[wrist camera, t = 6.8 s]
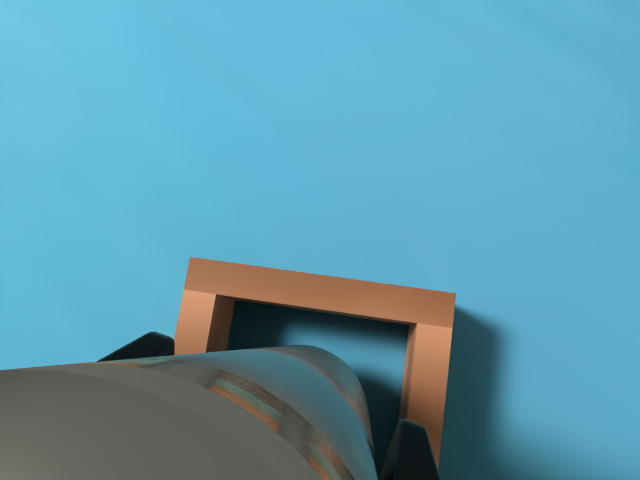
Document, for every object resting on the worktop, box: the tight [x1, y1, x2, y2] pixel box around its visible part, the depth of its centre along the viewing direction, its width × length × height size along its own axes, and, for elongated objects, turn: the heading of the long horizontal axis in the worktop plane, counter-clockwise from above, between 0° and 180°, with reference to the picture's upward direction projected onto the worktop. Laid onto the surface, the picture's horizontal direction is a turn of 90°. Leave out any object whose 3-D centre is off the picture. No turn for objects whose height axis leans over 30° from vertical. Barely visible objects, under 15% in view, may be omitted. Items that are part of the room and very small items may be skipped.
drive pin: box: [0, 345, 378, 480], centre depth 9 cm, size 4×4×13 cm
